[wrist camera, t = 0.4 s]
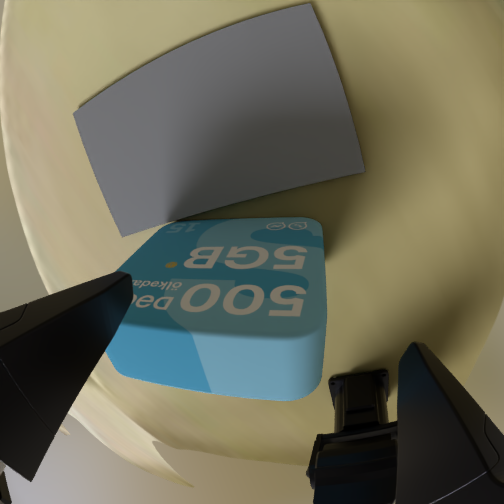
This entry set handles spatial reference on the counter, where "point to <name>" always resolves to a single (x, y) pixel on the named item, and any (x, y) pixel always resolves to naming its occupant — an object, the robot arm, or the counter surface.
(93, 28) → the counter surface
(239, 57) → the mat
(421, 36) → the counter surface
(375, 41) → the counter surface
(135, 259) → the light blue flat block
